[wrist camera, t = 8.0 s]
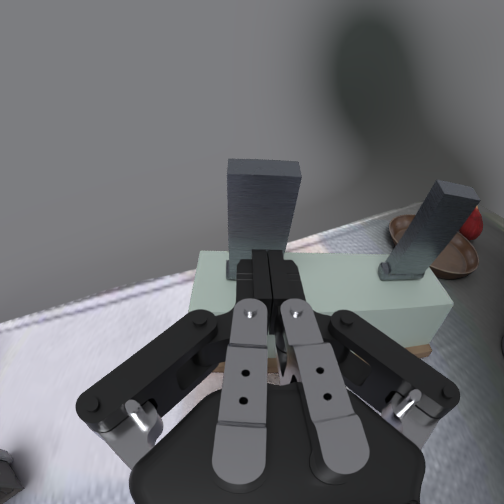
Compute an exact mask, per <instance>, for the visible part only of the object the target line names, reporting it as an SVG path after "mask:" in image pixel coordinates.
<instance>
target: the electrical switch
mask: <svg viewBox="0 0 504 504" xmlns="http://www.w3.org/2000/svg"><path fill="white" fill-rule="evenodd" d="M11 462H13V459H12V457H11V456H10V455H9V453H8V452H7V451H5V450H2V449H0V490H1V491H0V504H3V503H4V502H6V501H7V500H9V499H10V498H11V497H13V496H14V495H16V494H17V493H18V492H20V491H21V490H23V489H25V488H24V487H23V486H22V484H21V483H20V482H19V480H18V479H17V478H16V476H15V473H14V472H13V470H12V469H11V467H10V466H9V464H10V463H11ZM12 488H13V492H12ZM5 493H7V494H5Z"/></svg>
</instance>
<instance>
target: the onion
mask: <svg viewBox="0 0 504 504" xmlns="http://www.w3.org/2000/svg"><path fill="white" fill-rule="evenodd" d="M482 229H483V221H482V216H481V214H480V213H479V210H478V206H476V208H475V209H474V211H473V212H472V213H471V215H470V216H469V217H468V219H467V220H466V222H465V223H464V224H463V226H462V227H461V228H460V229H459V232H460V234H462V235H463V236H464V237H465V238H466V239H467V240H473V239H476V238H477V237H478V236H479V235H480V234H481V232H482Z"/></svg>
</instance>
